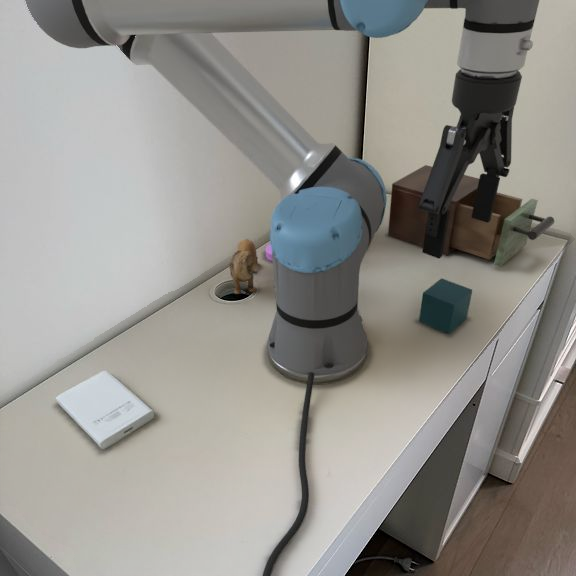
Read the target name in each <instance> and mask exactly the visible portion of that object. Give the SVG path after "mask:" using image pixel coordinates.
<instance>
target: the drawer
mask: <svg viewBox="0 0 576 576" xmlns="http://www.w3.org/2000/svg"><path fill="white" fill-rule="evenodd" d="M476 193H477V192H476ZM476 193H474V194H473V195H471V196H470V197H468V198H467V199H465V200H464V201H462V202H461V203H459V204H458V206H457V211H456V217H455V223H454V229H453V235H452V241H451V247H453V248H456V249H455V250H459V251H461V252H465V253H467V254H471V255H474V256H477V257H480V258H483V259H485V260H491V259H493V257H495V259H494V263H493V265H494V266H496V267H499V268H500V267H502V266H503V265H504V264H505V263H506V262H508V261H509V260H510V259H511V258H512V257H513V256H515V255H516V254H517V253H518V252H519V251H521V250H522V249H523V248H524V247H525V246H526V245H527V242H528V239H529V240H531V241H534V240H536V239H538V238H539V237H540V236H541V235H542V234H544V233H545V232H546V231H547V230H548V229H549V228H550V227H552V226H553V225H554V224H555V219H554V217H552V216H546V218H545V217H541V216H537V215H535V213H536V208H537V205H538V201H539V200H538V199H535V198H530V199H529V200H528V201H526V202H525V203H524V204H522V203H523V198H521V197H516V196H512V195H508V194H506V193H505V194H504V193H501V192H497V194H496V198H495V203H494V207H493V211H492V216H491V220H490V222H488V223H487V222H484V221H481V220H477V219H474V218H471V217H472V212H473V207H474V202H475V197H476ZM533 221H536V222H539V223H538V224H537V225H535V226H534V227H533V228H532V229H531V227H532V224H533Z"/></svg>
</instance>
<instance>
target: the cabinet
mask: <svg viewBox="0 0 576 576" xmlns="http://www.w3.org/2000/svg"><path fill="white" fill-rule="evenodd" d="M432 167H433V166H431V165H427V164H425V165H423V166H421V167H419V168H418V169H416V170H414V171H413V172H410V173H409V174H407V175H405V176H404V177H402V178H400V179H398V180H396V181H394V182H393V183H392V184H391V195H390V206H389V207H390V208H389V219H388V229H387V230H388V231H387V235H388V236H389V237H393V238H395V239H398V240H401V241H404V242H407V243H410V244H413V245H416V246H418V247H421V248H423V244H424V237H425V230H426V223H427V216H428V212H427V211H424V210H421V209H419V203H420V200H421V198H422V195H423V192H424V189H425V186H426V184H427V181H428V178H429V175H430V172H431V170H432ZM479 178H480V177H476V176H475V177H474V176H471V175H467V174H464V175H463V177H462V180H461V182H460V184H459V186H458V188H457V190H456V192H455V194H454V196H453V198H452V200H451V202H450V204H449V206H448V208H447V210H448V211H450V216H449V221H448V227H447V233H446V238H445V244H444V250H443V255H445V256H449V255H450V254H451V253H453V252H454V251H455V250H457V249H456V248H453V247H451V241H452V235H453V229H454V223H455V217H456V211H457V206H458V204H459V203H461V202H462V201H464V200H465V199H467V198H468V197H470V196H471V195H473V194H474V193H476V192H477V188H478V183H479Z"/></svg>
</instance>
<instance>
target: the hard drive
mask: <svg viewBox="0 0 576 576" xmlns="http://www.w3.org/2000/svg"><path fill="white" fill-rule="evenodd" d="M55 399H56V402H57V404H58V405H59V406H60V407H61V408H62V409H63V410H64V411H65V412H66V413H67V414H68V415H69V417H71V419H73V421H74V422H75V423H76V424H77V425H78V426H79V427H80V428H81V429H82V431H84V432H85V433H86V434H87V435H88V436H89V437H90V438H91V439H92V440H93V441H94V442H95V443H96V444H97V446H98V447H99V448H100V449H101V450H105V449H107V448H109V447H111V446H112V445H114V444H115V443H117V442H119V441H120V440H122V439H123V438H125V437H127V436H128V435H130V434H131V433H133V432H135V431H136V430H137V429H139V428H141V427H143V426H144V425H145V424H147V423H149V422H151V421H152V420H153V419H154V418H155V417H156V416H155V413H154V410H153V409H151V408H150V407H149V406H148V405H147V404H146V403H144V401H142V400H141V398H139V397H138V396H137V395H136V394H135V393H134V392H132V391H131V390H130V389H129V388H127V387H126V386H125V384H123V383H122V382H121V381H119V380H118V378H116V377H115V376H114V375H112V373H110V372H109V371H108V370H102V371H100V372H98V373H96V374H94V375H92V376H90V377H89V378H87V379H85V380H83V381H82V382H79V383H78V384H76V385H74V386H73V387H71V388H68V389H67V390H64V391H63V392H62V393H59V394H58V395H57V396H56V397H55Z"/></svg>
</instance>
